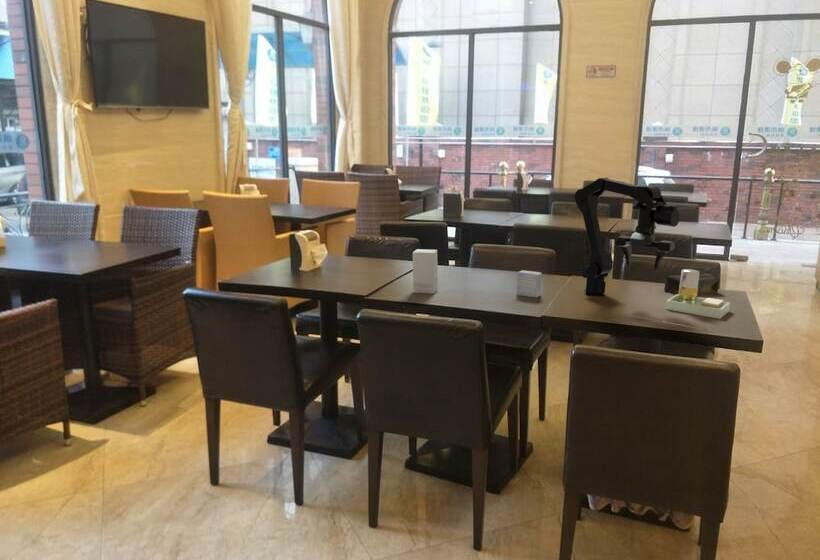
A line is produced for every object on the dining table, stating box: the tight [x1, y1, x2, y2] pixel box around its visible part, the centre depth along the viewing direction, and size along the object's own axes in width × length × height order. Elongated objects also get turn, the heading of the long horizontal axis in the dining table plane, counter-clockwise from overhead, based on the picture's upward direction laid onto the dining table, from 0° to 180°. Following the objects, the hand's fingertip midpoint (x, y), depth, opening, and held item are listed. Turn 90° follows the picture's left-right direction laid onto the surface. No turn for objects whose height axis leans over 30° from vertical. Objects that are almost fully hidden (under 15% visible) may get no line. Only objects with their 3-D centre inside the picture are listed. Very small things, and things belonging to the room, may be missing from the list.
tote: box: [665, 294, 731, 320], centre depth 216 cm, size 17×11×4 cm, turn 51°
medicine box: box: [516, 270, 543, 299], centre depth 234 cm, size 8×4×9 cm, turn 59°
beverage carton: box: [663, 273, 720, 295], centre depth 242 cm, size 8×19×7 cm, turn 108°
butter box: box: [701, 297, 725, 309], centre depth 213 cm, size 5×7×4 cm
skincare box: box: [412, 248, 439, 295], centre depth 237 cm, size 8×7×16 cm
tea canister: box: [678, 268, 700, 305], centre depth 217 cm, size 6×6×13 cm
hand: (642, 267), depth 222 cm, fingers open, 9 cm apart
